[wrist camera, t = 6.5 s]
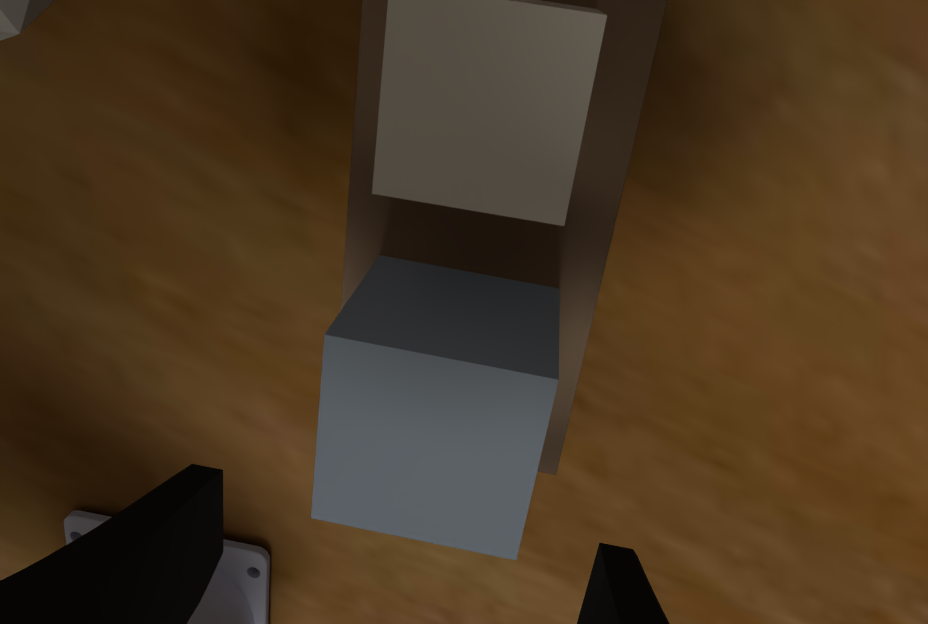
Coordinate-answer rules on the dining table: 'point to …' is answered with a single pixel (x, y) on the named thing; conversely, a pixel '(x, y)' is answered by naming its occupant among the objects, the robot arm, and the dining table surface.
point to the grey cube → (436, 405)
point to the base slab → (506, 238)
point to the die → (19, 15)
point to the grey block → (485, 104)
